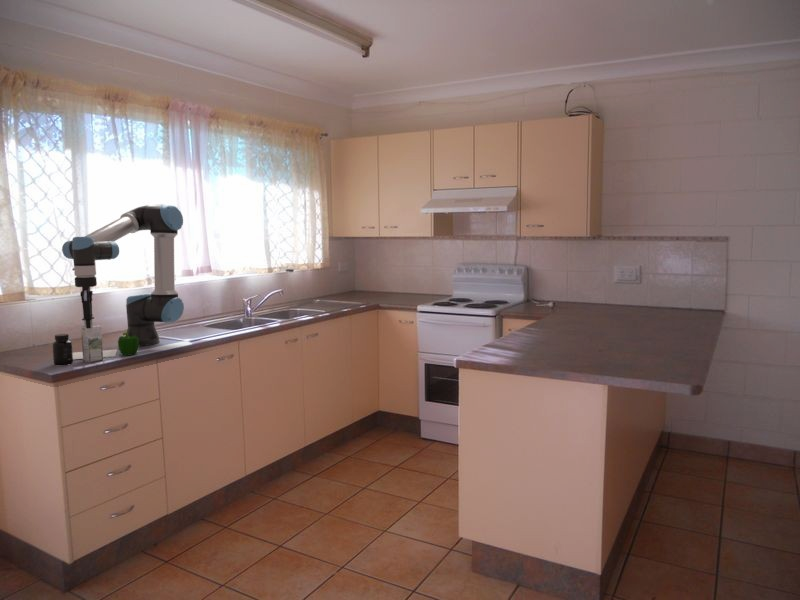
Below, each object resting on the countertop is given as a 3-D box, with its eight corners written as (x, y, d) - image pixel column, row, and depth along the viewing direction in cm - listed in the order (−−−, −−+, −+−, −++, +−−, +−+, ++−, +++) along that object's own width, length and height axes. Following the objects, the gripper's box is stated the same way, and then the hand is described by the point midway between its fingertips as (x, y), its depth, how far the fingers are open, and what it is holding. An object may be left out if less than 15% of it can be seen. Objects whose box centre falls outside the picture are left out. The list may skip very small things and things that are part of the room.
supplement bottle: (49, 365, 239) (47, 335, 238) (64, 361, 246) (62, 332, 244) (62, 366, 237) (60, 336, 235) (77, 363, 243) (75, 333, 242)
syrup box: (97, 358, 252) (94, 324, 250) (103, 360, 248) (101, 325, 246) (82, 360, 247) (80, 325, 245) (89, 362, 243) (87, 327, 242)
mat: (117, 350, 268) (117, 349, 268) (115, 357, 254) (115, 356, 254) (71, 353, 261) (71, 352, 261) (67, 360, 247) (66, 359, 247)
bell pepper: (132, 351, 265) (130, 329, 263) (143, 354, 260) (141, 331, 259) (113, 355, 258) (112, 332, 257) (124, 357, 253) (123, 334, 252)
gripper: (76, 275, 239) (80, 334, 242) (72, 278, 227) (76, 339, 230) (97, 274, 242) (101, 332, 245) (94, 277, 230) (98, 338, 233)
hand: (89, 336), depth 237 cm, fingers closed
